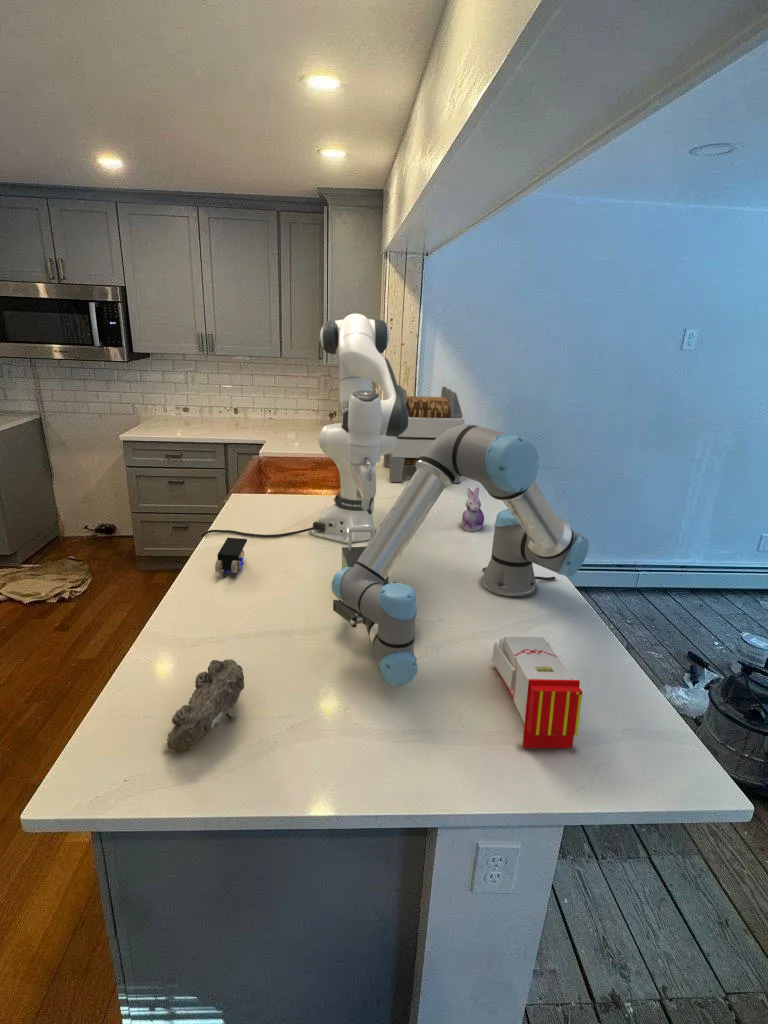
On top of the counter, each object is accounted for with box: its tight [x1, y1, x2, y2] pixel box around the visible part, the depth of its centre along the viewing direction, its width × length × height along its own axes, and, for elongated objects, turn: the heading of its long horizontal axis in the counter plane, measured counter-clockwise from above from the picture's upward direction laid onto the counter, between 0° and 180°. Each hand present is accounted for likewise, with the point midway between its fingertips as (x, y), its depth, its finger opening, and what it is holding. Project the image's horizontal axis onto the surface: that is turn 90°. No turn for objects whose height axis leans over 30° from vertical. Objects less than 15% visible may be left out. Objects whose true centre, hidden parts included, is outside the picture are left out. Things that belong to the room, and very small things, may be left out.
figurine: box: [461, 486, 485, 532], centre depth 206 cm, size 9×10×15 cm
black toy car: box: [214, 537, 248, 578], centre depth 166 cm, size 7×8×15 cm
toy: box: [491, 636, 583, 749], centre depth 115 cm, size 12×13×30 cm
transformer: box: [383, 384, 465, 484], centre depth 268 cm, size 34×33×41 cm
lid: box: [341, 525, 390, 577], centre depth 153 cm, size 17×10×8 cm, turn 11°
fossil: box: [166, 658, 245, 754], centre depth 106 cm, size 22×10×15 cm
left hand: (362, 503), depth 155 cm, fingers open, 8 cm apart
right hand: (368, 587), depth 146 cm, fingers open, 13 cm apart
